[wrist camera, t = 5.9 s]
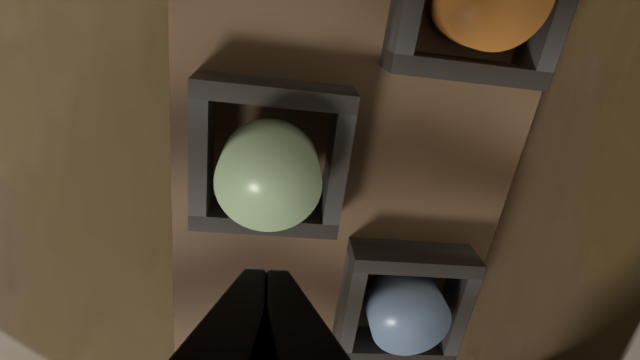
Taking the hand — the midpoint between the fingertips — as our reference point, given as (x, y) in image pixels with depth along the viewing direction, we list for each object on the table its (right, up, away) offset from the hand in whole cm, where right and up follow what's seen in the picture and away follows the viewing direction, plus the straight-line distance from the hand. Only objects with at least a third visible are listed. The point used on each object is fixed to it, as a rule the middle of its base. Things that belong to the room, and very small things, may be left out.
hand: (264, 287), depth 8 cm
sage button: (-1, +3, +6) cm, 6 cm away
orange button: (+6, +8, +5) cm, 11 cm away
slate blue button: (+5, -3, +10) cm, 11 cm away
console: (+2, +4, +9) cm, 10 cm away
